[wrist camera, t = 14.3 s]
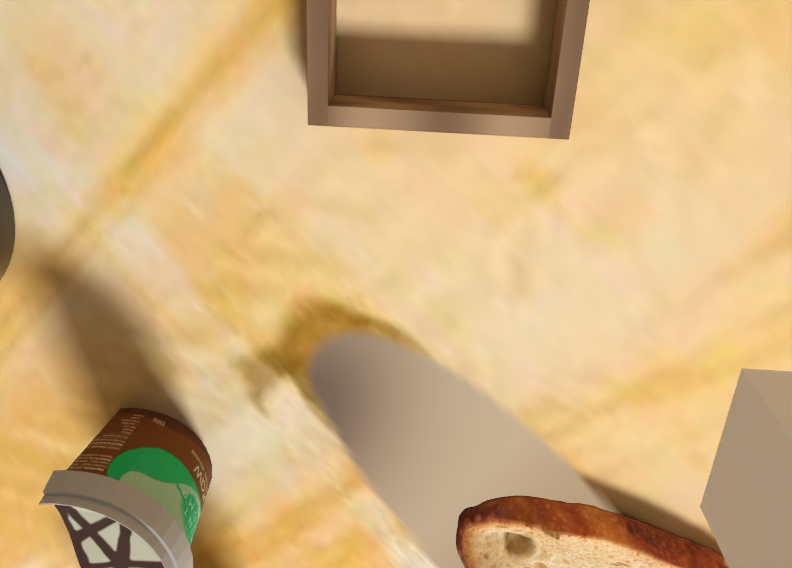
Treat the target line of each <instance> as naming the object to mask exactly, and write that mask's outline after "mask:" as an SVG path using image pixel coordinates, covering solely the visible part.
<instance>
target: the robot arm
mask: <svg viewBox="0 0 792 568" xmlns="http://www.w3.org/2000/svg"><path fill="white" fill-rule="evenodd" d="M14 240H15V222H14V214H13V208H12V204H11V200H10V196H9V193H8V190H7V187H6V185H5V182H4V180H3V178H2V176H1V173H0V280H1V278H2V277H3V275H4V273H5V272H6V270H7V267H8V265H9V263H10V260H11V256H12V253H13V248H14ZM700 507H701V509H702V511H703V514H704V516H705V518H706V520H707V522H708V524H709V526H710V529H711V531H712V533H713V535H714V537H715V539H716V542H717V544H718V546H719V548H720V550H721V552H722V554H723V557H724V559H725V561H726V563H727V565H728V567H729V568H792V372H787V371H772V370H757V369H741V373H740V376H739V379H738V383H737V386H736V389H735V393H734V396H733V399H732V403H731V406H730V409H729V413H728V416H727V419H726V423H725V426H724V429H723V433H722V436H721V439H720V442H719V446H718V449H717V452H716V456H715V459H714V462H713V466H712V469H711V472H710V476H709V479H708V482H707V486H706V489H705V492H704V496H703V499H702V502H701V506H700Z"/></svg>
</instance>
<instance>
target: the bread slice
mask: <svg viewBox="0 0 792 568" xmlns="http://www.w3.org/2000/svg"><path fill="white" fill-rule="evenodd" d="M456 546H457V551H458V554H459V556H460V558H461V561H462V562H463V565H464V567H465V568H729V567H728V565H727V563H726V561H725V559H724V557H723V556H721V555H719V554H718V553H716V552H715V551H714V550H712V549H710V548H707V547H703V546H700V545H698V544H696V543H695V542H693V541H691V540H689V539H684V538H679V537H677V536H675V535H673V534H671V533H669V532H667V531H663V530H659V529H657V528H654V527H652V526H650V525H648V524H645V523H643V522H640V521H637V520H634V519H631V518H628V517H626V516H623V515H620V514H617V513H613V512H609V511H606V510H603V509H600V508H597V507H595V506H591V505H585V504H579V503H565V502H562V501H554V500H548V499H543V498H538V497H531V496H508V497H501V498H495V499H491V500H487V501H485V502H483V503H481V504H479V505H477V506H475V507H468V508H466V509H464V510H463V511H462V513H461V514H460V515H459V519H458V528H457V534H456Z"/></svg>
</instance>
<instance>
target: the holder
mask: <svg viewBox="0 0 792 568" xmlns="http://www.w3.org/2000/svg"><path fill="white" fill-rule="evenodd" d="M589 2H590V0H557V5H556V13H555V20H554V28H553V35H552V43H551V51H550V58H549V66H548V73H547V81H546V89H545V96H544V104H543V106H541V105H522V104H504V103H485V102H467V101H448V100H430V99H411V98H393V97H374V96H355V95H337V94H336V0H306V3H307V86H308V125H317V126H335V127H353V128H371V129H389V130H408V131H426V132H444V133H462V134H480V135H498V136H516V137H534V138H552V139H569V135H570V129H571V122H572V115H573V109H574V102H575V95H576V89H577V82H578V75H579V69H580V62H581V55H582V49H583V42H584V35H585V29H586V22H587V15H588V9H589Z"/></svg>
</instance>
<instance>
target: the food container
mask: <svg viewBox="0 0 792 568" xmlns="http://www.w3.org/2000/svg"><path fill="white" fill-rule="evenodd" d="M211 479H212V464H211V460H210V456H209V454H208V452H207V450H206V448H205V446H204V445H203V443H202V442H201V440H200V439H199V438H198V437H197V436H196V435H195V434H194V433H193V432H192V431H191V430H190V429H189V428H187V427H186V426H185V425H183V424H182V423H180V422H178V421H177V420H175V419H173V418H171V417H169V416H167V415H164V414H161V413H158V412H155V411H150V410H146V409H137V408H125V409H120V410H119V411H118V412H117V413H116V414H115V415H114V417H113V418H112V419H111V420H110V421H109V422H108V423H107V425H106V426H105V427H104V428H103V429H102V430H101V431H100V433H99V434H98V435H97V436H96V437H95V438H94V439H93V441H92V442H91V443H90V444H89V445H88V446H87V447H86V449H85V450H84V451H83V452H82V453H81V454H80V455H79V457H78V458H77V459H76V460H75V461H74V462H73V463H72V465H71V466H70V467H69V468H68V469H67V470H60V471H53V473H52V475H51V477H50V479H49V481H48V483H47V485H46V487H45V489H44V491H43V492H44V494H45V495H44V497H43V498H42V500H41V501H40V503H39V505H55V507H56V508H57V509H58V511H59V513H60V514H61V516H62V518H63V520H64V523H65V525H66V527H67V529H68V531H69V534H70V537H71V540H72V543H73V546H74V549H75V552H76V555H77V558H78V561H79V564H80V566H81V568H193V555H192V552H191V548H190V546H191V543H192V540H193V537H194V533H195V530H196V527H197V524H198V520H199V517H200V514H201V511H202V508H203V504H204V501H205V498H206V495H207V491H208V488H209V485H210V482H211Z"/></svg>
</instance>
